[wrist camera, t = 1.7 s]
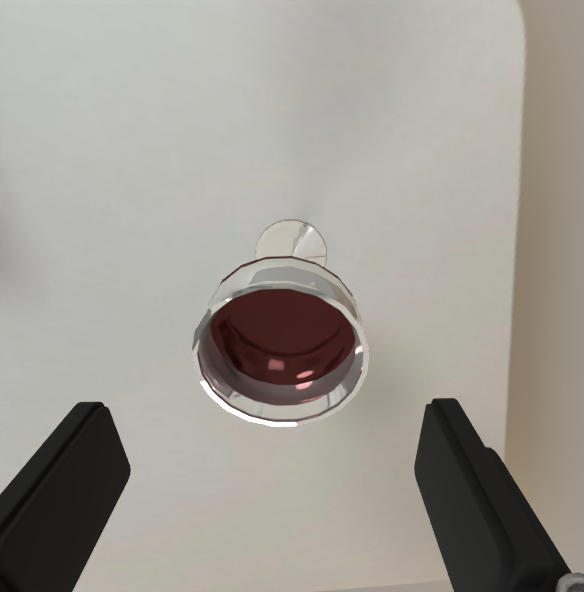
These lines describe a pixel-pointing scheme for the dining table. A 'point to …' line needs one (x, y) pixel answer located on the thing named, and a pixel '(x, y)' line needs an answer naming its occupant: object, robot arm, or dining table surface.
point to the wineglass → (282, 334)
